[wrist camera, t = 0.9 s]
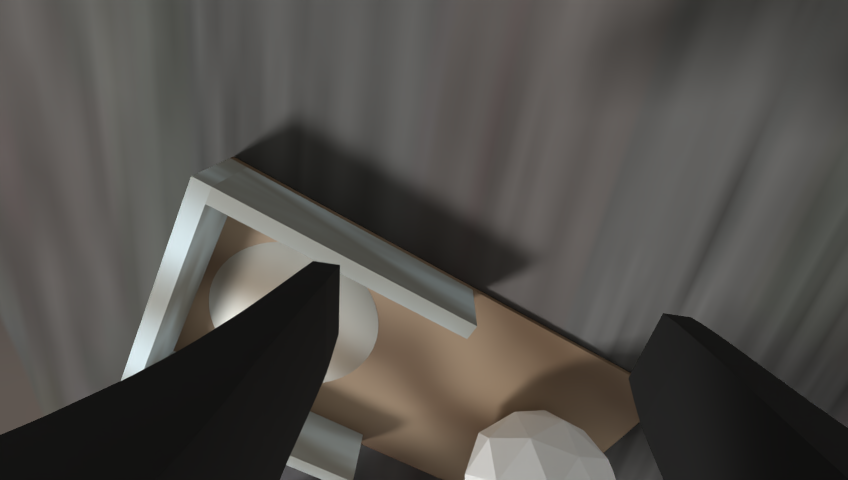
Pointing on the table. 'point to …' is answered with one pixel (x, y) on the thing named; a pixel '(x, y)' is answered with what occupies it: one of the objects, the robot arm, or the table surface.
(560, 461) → the geometric ball
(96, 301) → the table surface
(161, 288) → the pen board
